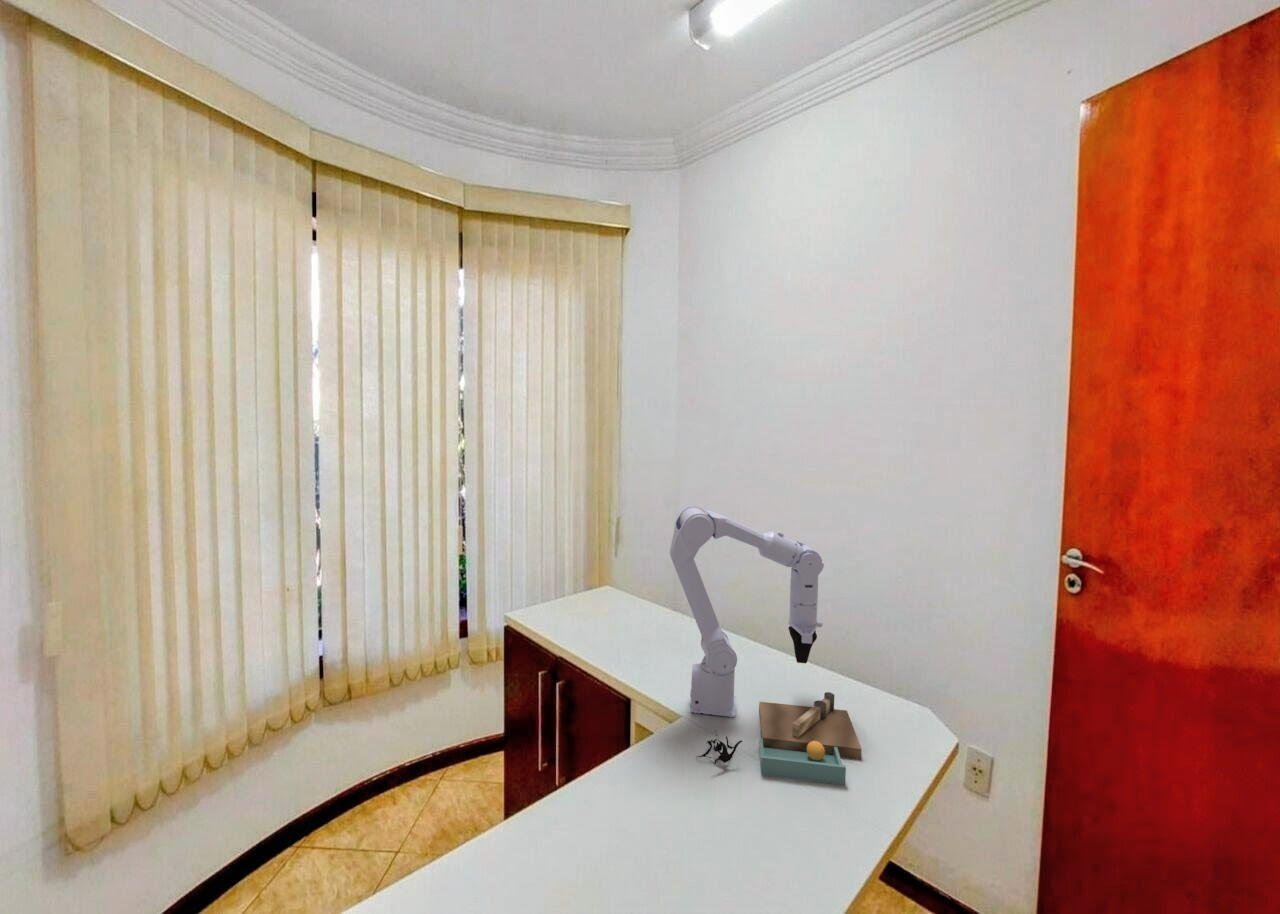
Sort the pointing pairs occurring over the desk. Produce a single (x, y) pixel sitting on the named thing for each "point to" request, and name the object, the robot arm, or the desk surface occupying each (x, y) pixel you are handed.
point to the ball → (815, 750)
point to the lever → (813, 714)
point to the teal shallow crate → (801, 765)
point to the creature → (724, 755)
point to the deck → (826, 731)
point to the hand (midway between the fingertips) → (801, 661)
